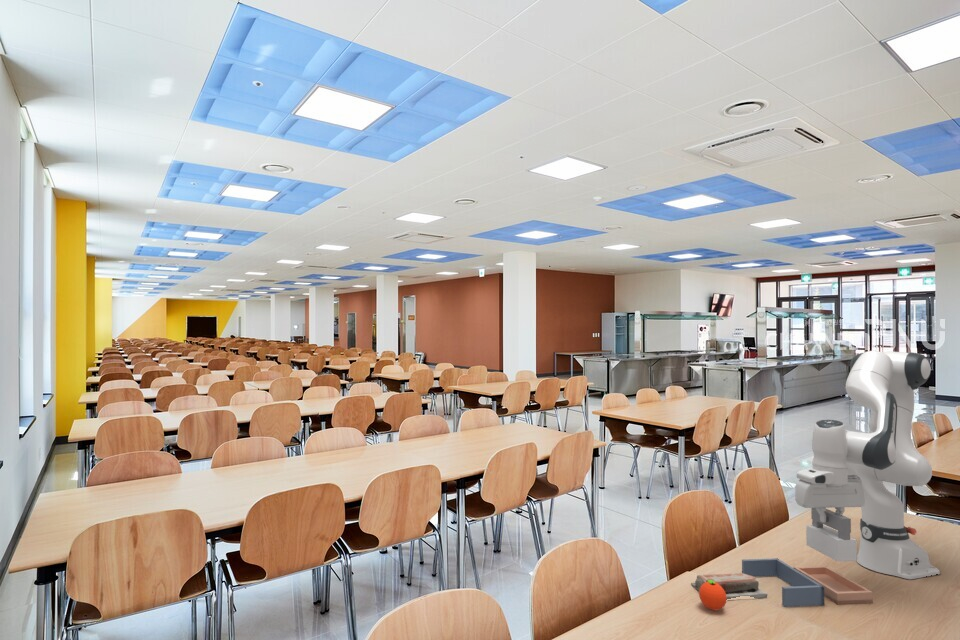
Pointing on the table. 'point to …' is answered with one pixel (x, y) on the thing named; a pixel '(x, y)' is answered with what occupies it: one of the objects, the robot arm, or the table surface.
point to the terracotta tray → (837, 585)
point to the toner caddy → (832, 536)
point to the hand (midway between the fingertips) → (830, 521)
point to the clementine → (712, 595)
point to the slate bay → (801, 585)
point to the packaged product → (733, 584)
